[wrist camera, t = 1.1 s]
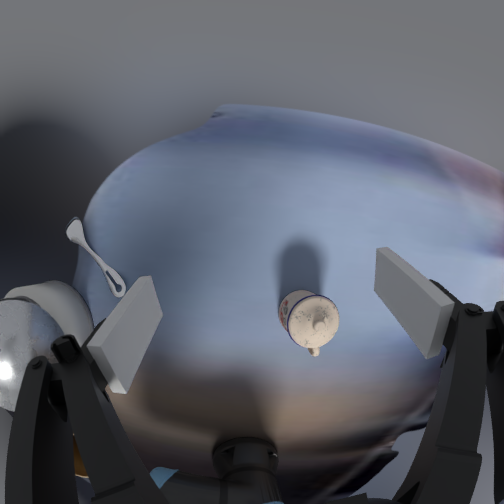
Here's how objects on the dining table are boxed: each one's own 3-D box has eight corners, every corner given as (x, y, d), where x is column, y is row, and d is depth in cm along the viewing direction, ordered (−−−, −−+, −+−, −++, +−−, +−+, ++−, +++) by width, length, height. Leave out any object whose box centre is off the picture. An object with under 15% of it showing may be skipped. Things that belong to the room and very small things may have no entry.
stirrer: (127, 288, 44) (111, 305, 44) (134, 287, 48) (119, 302, 47) (71, 210, 44) (57, 226, 44) (80, 213, 48) (66, 229, 47)
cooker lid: (70, 399, 34) (74, 403, 33) (-29, 411, 16) (-28, 417, 15) (67, 299, 35) (70, 302, 34) (-51, 292, 16) (-52, 296, 15)
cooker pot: (94, 373, 46) (69, 397, 35) (31, 348, 45) (2, 362, 33) (96, 290, 47) (66, 299, 35) (31, 271, 45) (-2, 275, 33)
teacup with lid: (272, 294, 51) (286, 306, 39) (317, 283, 52) (342, 291, 40) (284, 352, 51) (300, 376, 39) (327, 339, 52) (351, 359, 40)
